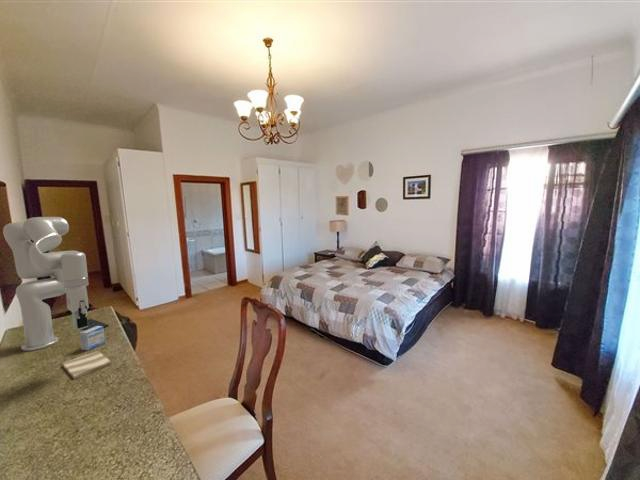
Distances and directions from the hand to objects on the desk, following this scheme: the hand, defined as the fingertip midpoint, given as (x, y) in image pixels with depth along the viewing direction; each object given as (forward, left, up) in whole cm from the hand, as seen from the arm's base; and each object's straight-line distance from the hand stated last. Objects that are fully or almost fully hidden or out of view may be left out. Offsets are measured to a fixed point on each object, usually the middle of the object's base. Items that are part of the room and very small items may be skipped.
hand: (80, 325), depth 111 cm
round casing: (0, 0, -1) cm, 1 cm away
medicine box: (-18, +8, -18) cm, 26 cm away
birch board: (0, +1, -18) cm, 18 cm away
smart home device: (-48, +15, -18) cm, 53 cm away
